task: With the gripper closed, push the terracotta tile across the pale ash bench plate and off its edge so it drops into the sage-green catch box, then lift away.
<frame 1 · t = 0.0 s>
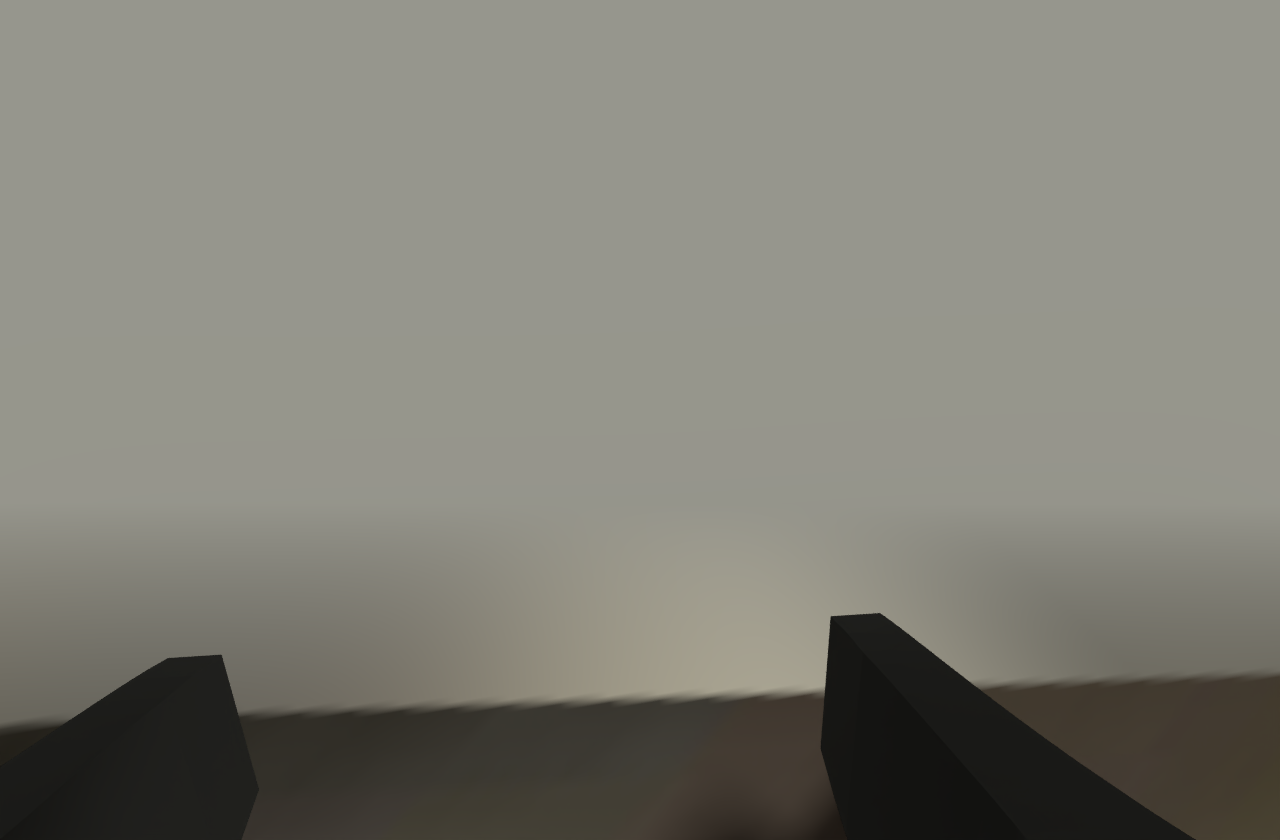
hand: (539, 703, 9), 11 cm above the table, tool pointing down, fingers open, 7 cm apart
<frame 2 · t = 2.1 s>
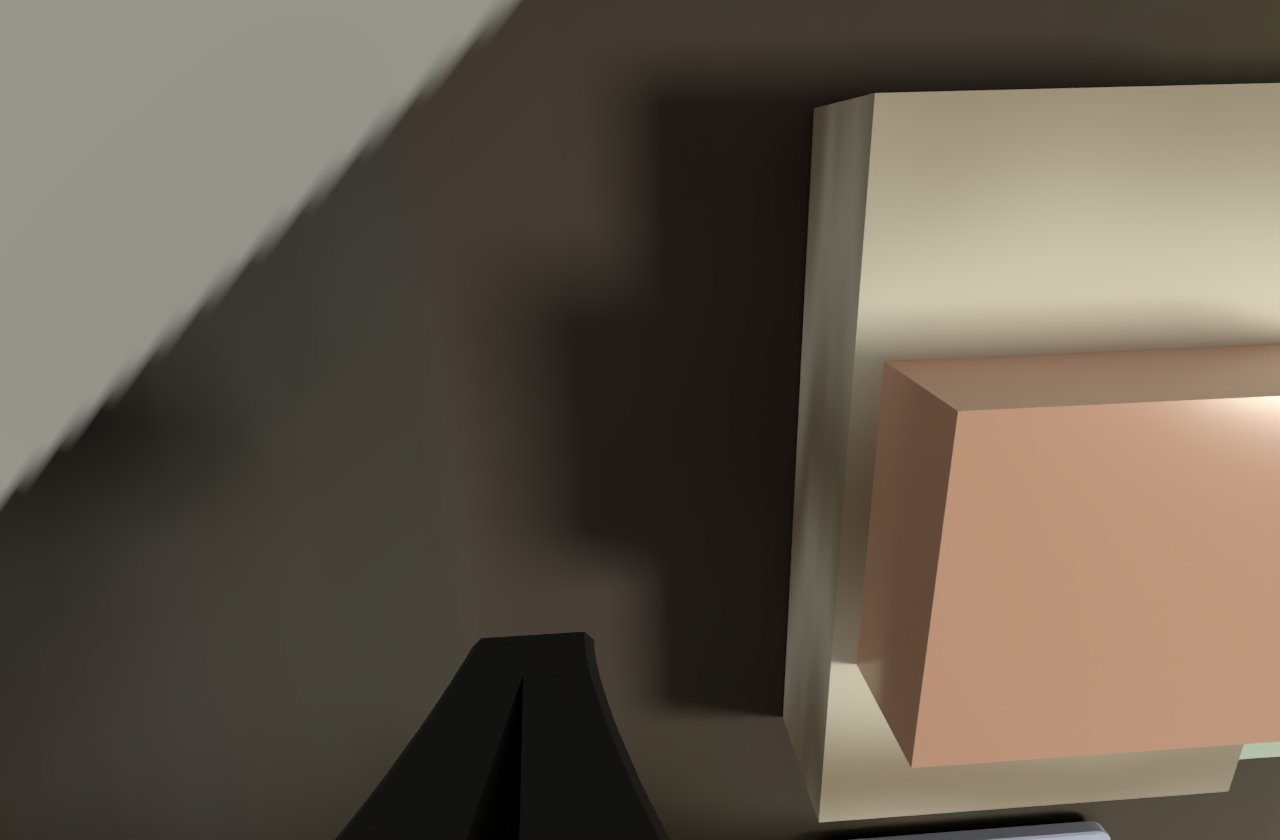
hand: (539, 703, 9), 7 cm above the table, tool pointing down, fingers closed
bench plate: (998, 450, 16), on the table
tile: (1087, 512, 13), point 3 cm above the table, touching bench plate
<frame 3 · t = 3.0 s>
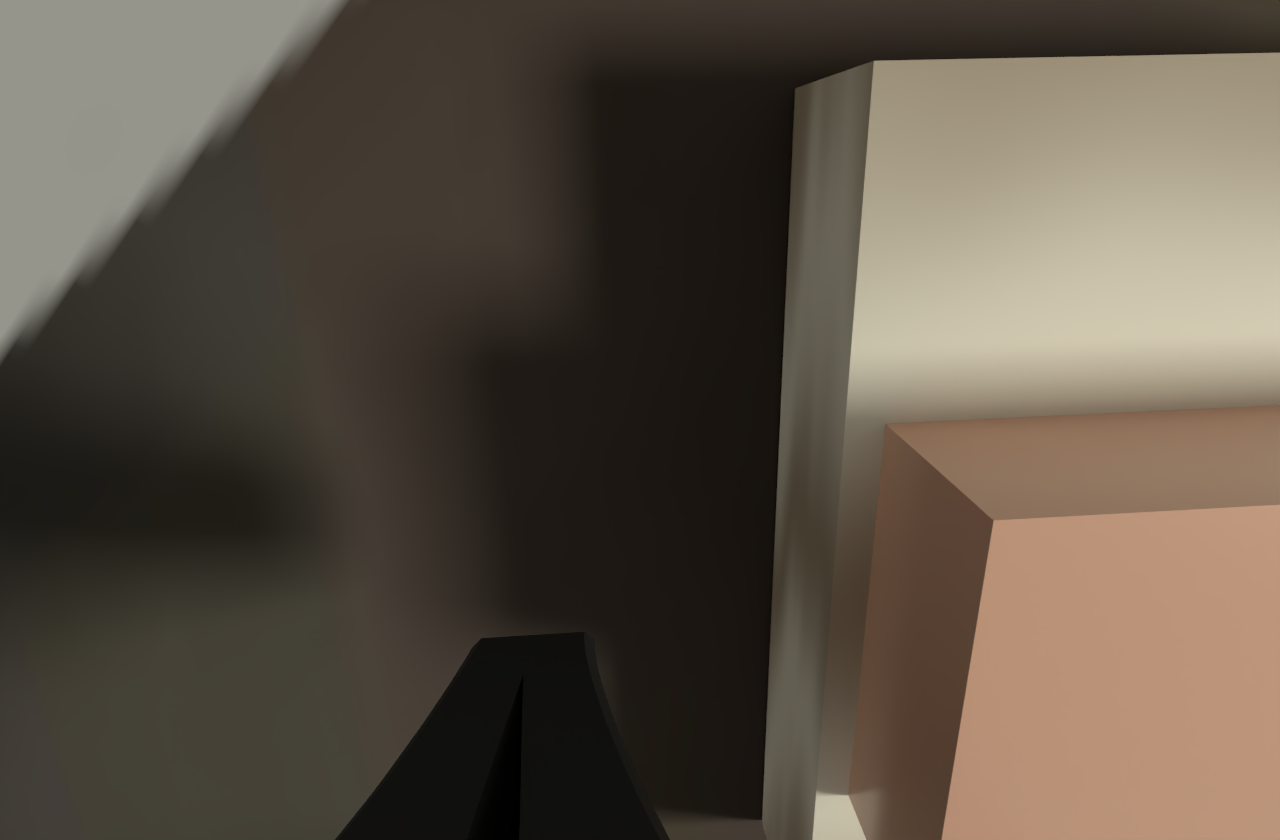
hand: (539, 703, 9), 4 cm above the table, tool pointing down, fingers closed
bench plate: (1023, 512, 13), on the table
tile: (1145, 611, 10), point 3 cm above the table, touching bench plate
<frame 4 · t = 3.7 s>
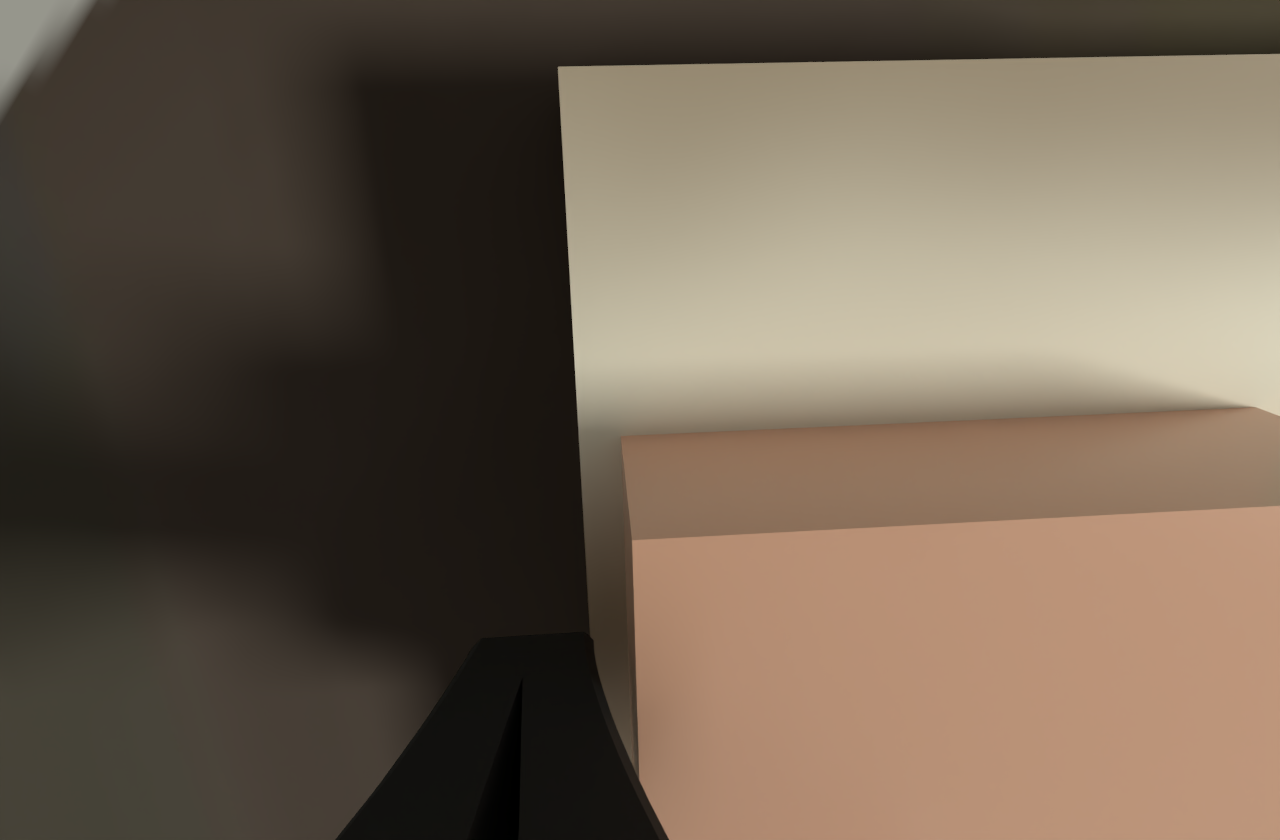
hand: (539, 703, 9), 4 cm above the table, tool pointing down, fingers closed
bench plate: (845, 522, 13), on the table
tile: (918, 626, 10), point 3 cm above the table, touching bench plate, gripper
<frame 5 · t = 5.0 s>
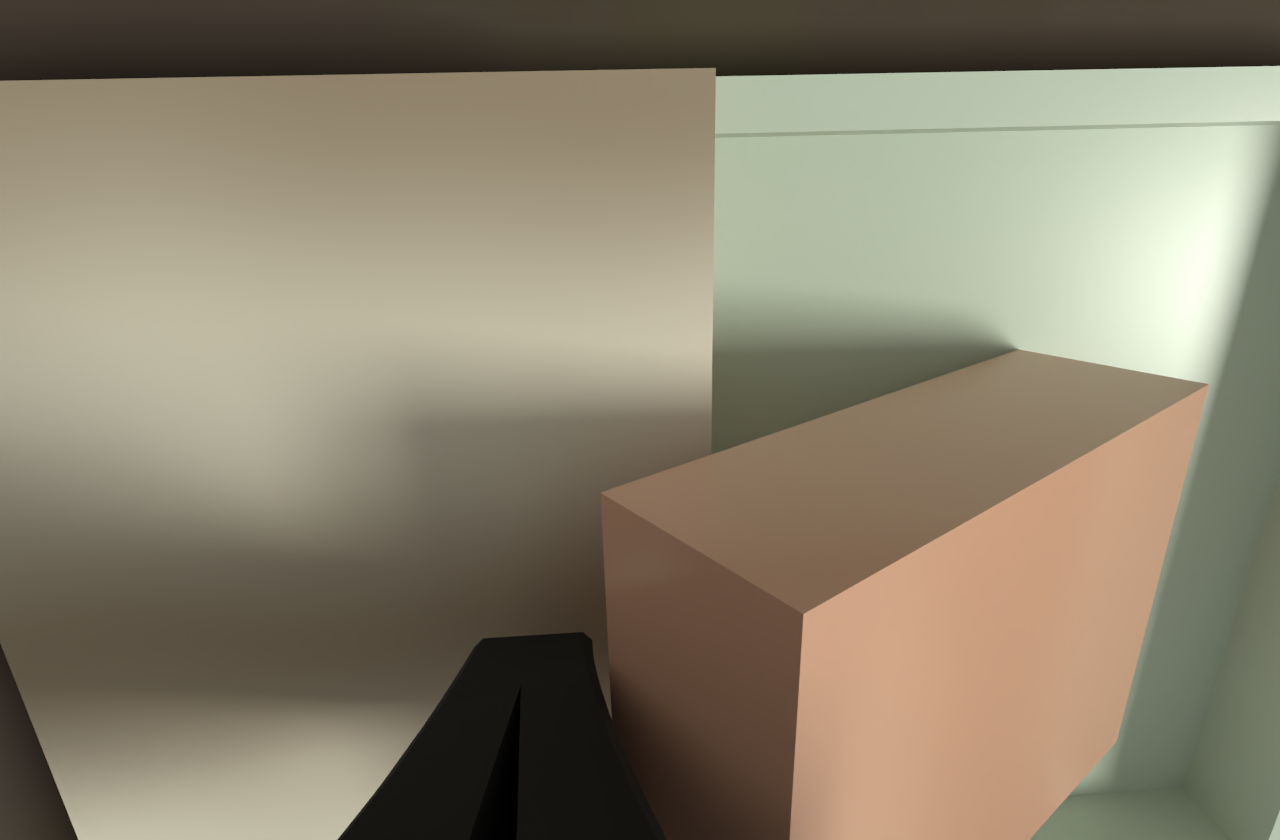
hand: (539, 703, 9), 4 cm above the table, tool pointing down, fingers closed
bench plate: (421, 545, 12), on the table
catch box: (987, 516, 13), on the table
tile: (844, 604, 10), point 3 cm above the table, tilted 33°, touching gripper
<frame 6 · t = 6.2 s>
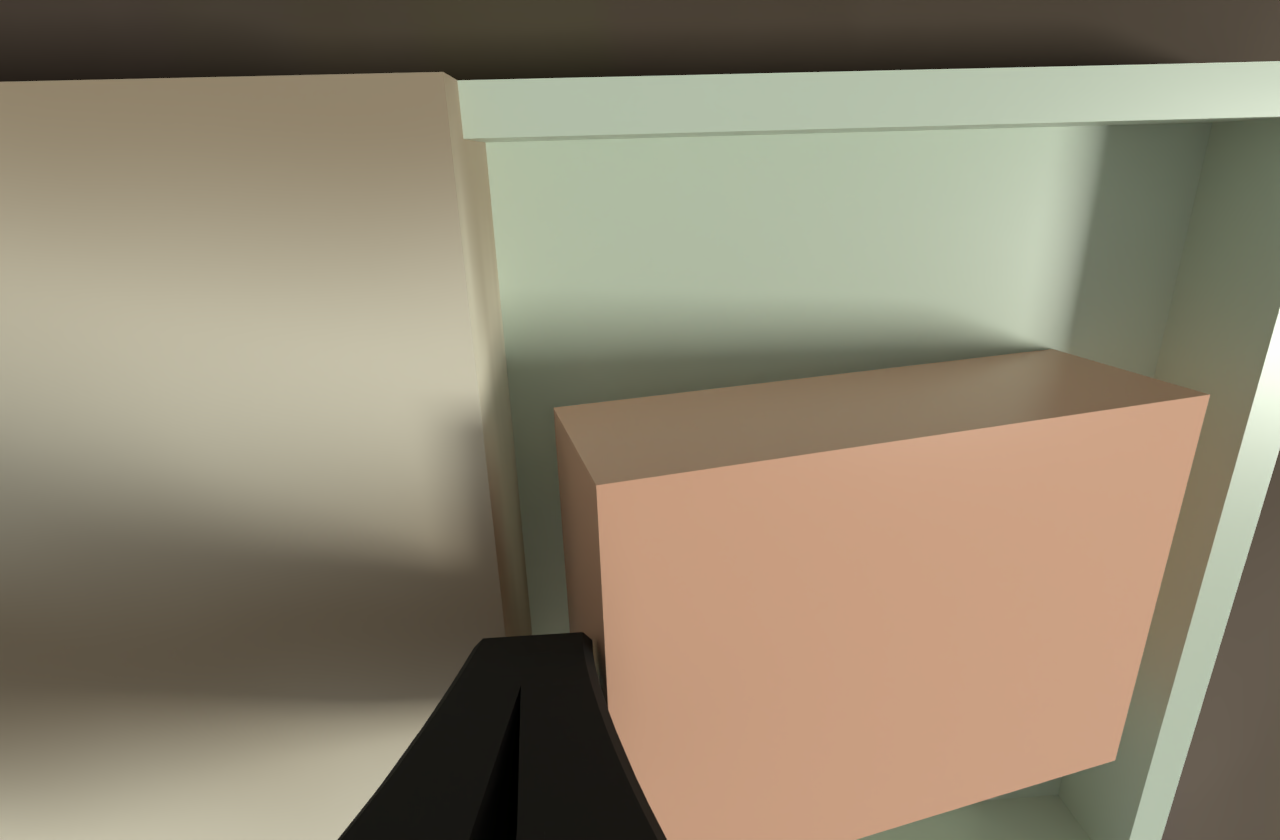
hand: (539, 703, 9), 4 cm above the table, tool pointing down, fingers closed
bench plate: (259, 555, 12), on the table
catch box: (839, 522, 13), on the table
tile: (815, 556, 11), point 1 cm above the table, tilted 13°, touching catch box, gripper
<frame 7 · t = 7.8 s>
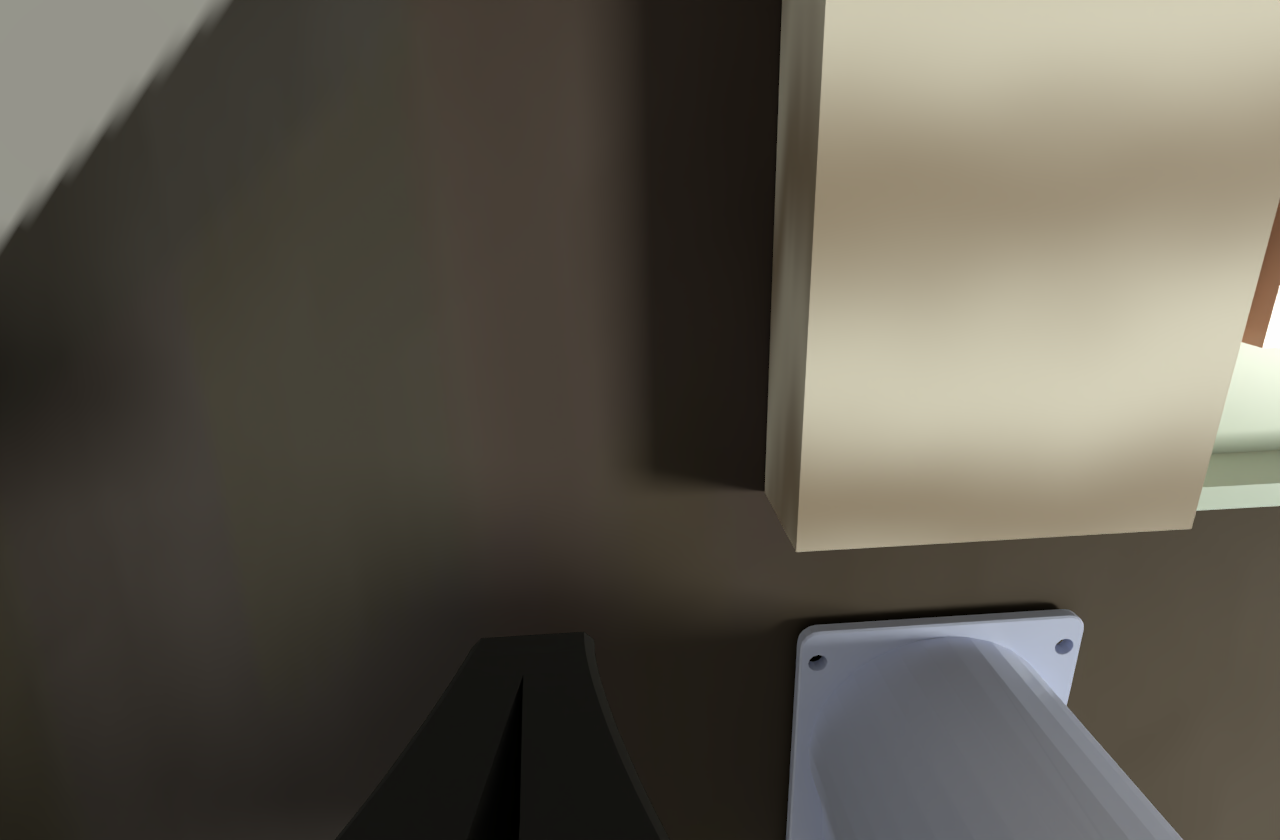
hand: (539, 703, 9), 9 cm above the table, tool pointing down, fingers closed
bench plate: (970, 202, 16), on the table
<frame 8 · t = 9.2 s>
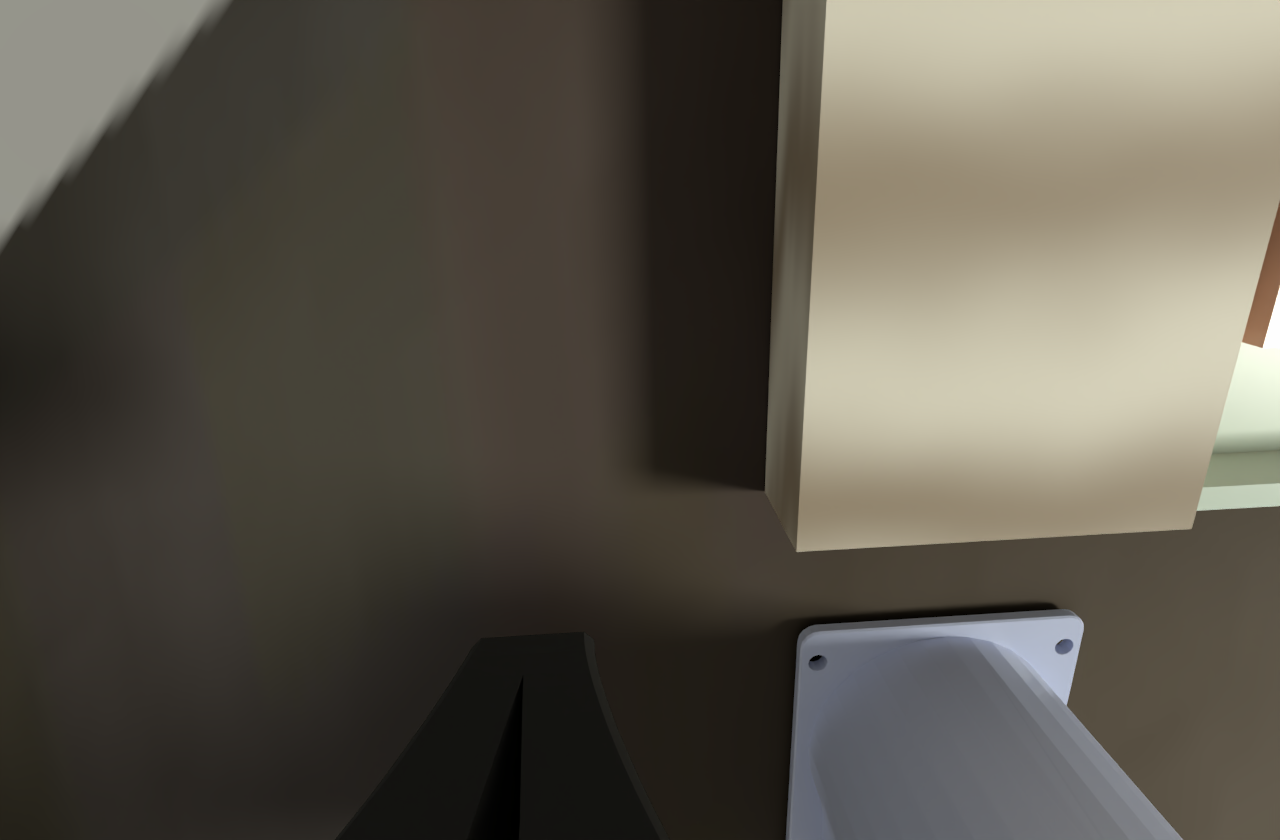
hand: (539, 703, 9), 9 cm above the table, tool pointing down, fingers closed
bench plate: (970, 202, 16), on the table
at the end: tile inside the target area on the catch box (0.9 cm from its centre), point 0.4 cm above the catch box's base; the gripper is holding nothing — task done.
